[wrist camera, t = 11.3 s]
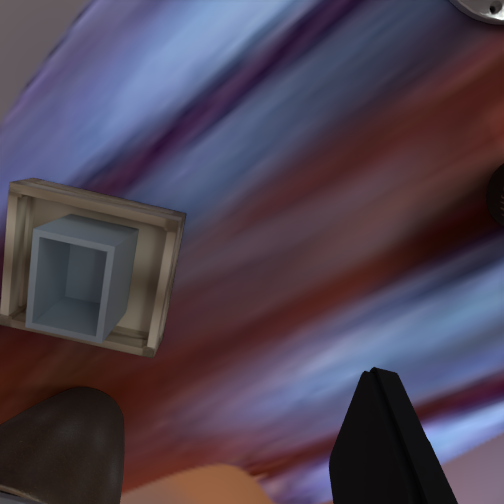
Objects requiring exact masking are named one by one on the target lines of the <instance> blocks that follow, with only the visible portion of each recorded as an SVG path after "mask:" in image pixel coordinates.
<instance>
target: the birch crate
mask: <svg viewBox="0 0 504 504" xmlns="http://www.w3.org/2000/svg"><path fill="white" fill-rule="evenodd" d="M68 214H74V215H79V216H83V217H87V218H92V219H96V220H101V221H105V222H110V223H114V224H119V225H123V226H128V227H132V228H137V229H139V232H138V239H137V245H136V252H135V259H134V265H133V272H132V278H131V285H130V291H129V298H128V304H127V311H126V313H125V315H124V316H123V317H122V318H121V320H120V321H119V322H118V323H117V325H116V326H115V327H114V329H113V330H112V331H111V332H110V334H109V335H108V336H107V337H106V339H105V340H104V341H103V343H102V344H101V343H96V342H92V341H87V340H82V339H78V338H73V337H68V336H64V335H59V334H54V333H50V332H45V331H40V330H36V329H31V328H26V327H25V323H26V311H27V298H28V286H29V274H30V262H31V250H32V238H33V229H34V228H36V227H39V226H41V225H44V224H46V223H49V222H51V221H54V220H56V219H58V218H61V217H63V216H66V215H68ZM185 219H186V213H182V212H178V211H174V210H170V209H165V208H161V207H157V206H152V205H148V204H144V203H139V202H135V201H131V200H127V199H122V198H118V197H114V196H109V195H105V194H101V193H97V192H92V191H88V190H84V189H79V188H75V187H71V186H66V185H62V184H58V183H54V182H49V181H45V180H41V179H36V178H30V179H24V180H19V181H13V182H9V196H8V210H7V224H6V238H5V252H4V266H3V280H2V294H1V308H0V325H4V326H9V327H13V328H18V329H22V330H27V331H32V332H36V333H41V334H45V335H50V336H54V337H59V338H63V339H68V340H72V341H77V342H81V343H86V344H90V345H95V346H99V347H104V348H108V349H113V350H117V351H122V352H127V353H131V354H136V355H140V356H145V357H149V358H153V357H154V355H155V353H156V351H157V349H158V347H159V345H160V343H161V341H162V339H163V334H164V329H165V324H166V318H167V313H168V308H169V303H170V297H171V292H172V287H173V282H174V276H175V271H176V266H177V261H178V255H179V250H180V245H181V240H182V234H183V229H184V224H185Z"/></svg>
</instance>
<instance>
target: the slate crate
mask: <svg viewBox="0 0 504 504" xmlns="http://www.w3.org/2000/svg"><path fill="white" fill-rule="evenodd" d="M138 232H139V229H137V228H132V227H128V226H123V225H119V224H114V223H110V222H105V221H101V220H96V219H92V218H87V217H83V216H79V215H74V214H68V215H66V216H63V217H61V218H58V219H56V220H54V221H51V222H49V223H46V224H44V225H41V226H39V227H36V228H34V229H33V238H32V250H31V262H30V274H29V286H28V298H27V311H26V323H25V327H26V328H31V329H36V330H40V331H45V332H50V333H54V334H59V335H64V336H68V337H73V338H78V339H82V340H87V341H92V342H96V343H101V344H102V343H103V341H104V340H105V339H106V337H107V336H108V335H109V334H110V332H111V331H112V330H113V329H114V327H115V326H116V325H117V323H118V322H119V321H120V320H121V318H122V317H123V316H124V315H125V313H126V311H127V304H128V298H129V291H130V285H131V278H132V272H133V265H134V259H135V252H136V245H137V239H138Z"/></svg>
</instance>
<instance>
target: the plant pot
mask: <svg viewBox="0 0 504 504" xmlns="http://www.w3.org/2000/svg"><path fill="white" fill-rule="evenodd" d="M123 470H124V420H123V415H122V412H121V410H120V408H119V406H118V405H117V403H116V402H115V401H114V400H113V399H112V398H111V397H110V396H108V395H107V394H105V393H104V392H102V391H99V390H97V389H93V388H88V387H77V388H72V389H69V390H67V391H64V392H62V393H59V394H57V395H55V396H53V397H51V398H49V399H47V400H44V401H42V402H40V403H38V404H36V405H34V406H33V407H31V408H29V409H27V410H25V411H23V412H22V413H20V414H18V415H16V416H15V417H13V418H11V419H10V420H8V421H6V422H5V423H3V424H1V425H0V492H1V493H5V494H9V495H14V496H18V497H22V498H26V499H30V500H34V501H38V502H42V503H46V504H120V498H121V490H122V481H123Z"/></svg>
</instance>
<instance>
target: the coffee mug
mask: <svg viewBox="0 0 504 504" xmlns="http://www.w3.org/2000/svg"><path fill="white" fill-rule="evenodd" d="M486 202H487V207H488V210H489V212H490V214H491V216H492V217H493V218H494V220H495V221H497V222H498V223H499V224H500V225H502V226H503V227H504V164H503V165H502V166H501V167H500V168H499V169H498V170H497V171H496V172H495V174H494V175H493V177H492V178H491V180H490V183H489V185H488V189H487V194H486Z"/></svg>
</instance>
